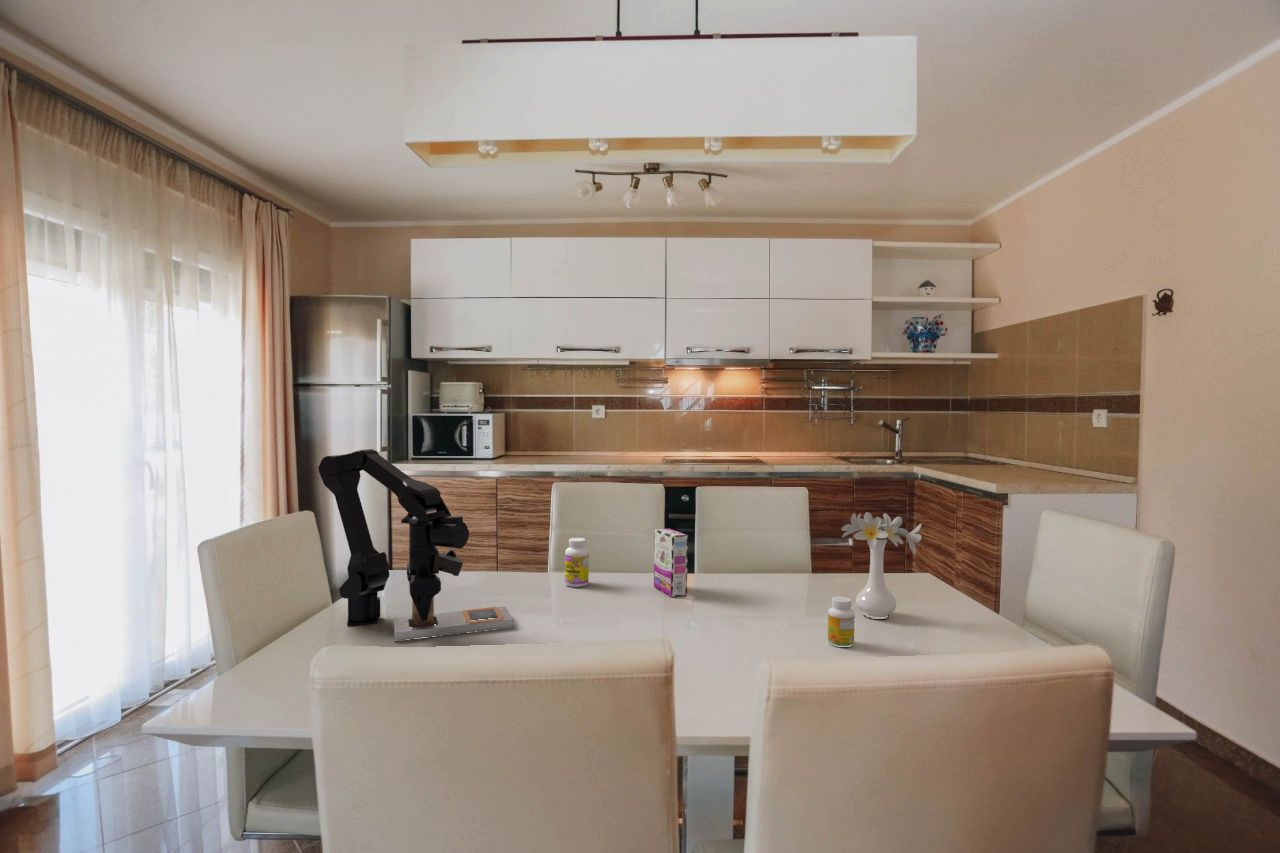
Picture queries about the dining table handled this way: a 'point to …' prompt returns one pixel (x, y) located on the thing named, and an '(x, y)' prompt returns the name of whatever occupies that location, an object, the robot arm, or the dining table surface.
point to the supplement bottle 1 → (576, 563)
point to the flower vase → (878, 559)
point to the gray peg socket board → (455, 623)
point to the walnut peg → (417, 620)
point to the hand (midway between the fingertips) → (422, 614)
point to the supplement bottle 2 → (841, 622)
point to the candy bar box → (670, 562)
